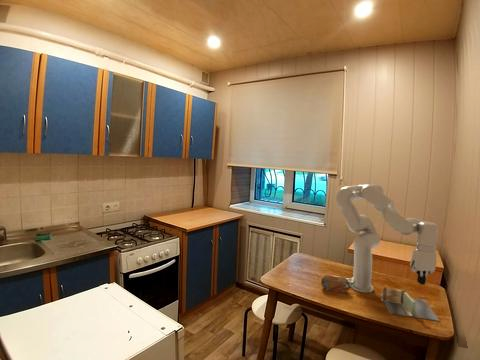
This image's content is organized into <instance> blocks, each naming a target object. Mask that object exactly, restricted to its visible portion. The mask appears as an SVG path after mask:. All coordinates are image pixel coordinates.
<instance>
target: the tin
mask: <svg viewBox="0 0 480 360" xmlns="http://www.w3.org/2000/svg"><path fill="white" fill-rule="evenodd" d="M346 278H347V277H344V276H338V275H333V274H326V275H325V274H324V276H323V277H322V279H321V283H320V284H321V287H322V288H324V289H325V290H326V289H328V290H327V291H329V290H333V291H332V292H335V291H337V292H336V293H343V294H344V293H348V291H349V290H350V288H351V287H350V283H349V281H348V280H347V279H346Z"/></svg>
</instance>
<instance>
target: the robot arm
mask: <svg viewBox="0 0 480 360" xmlns="http://www.w3.org/2000/svg"><path fill="white" fill-rule="evenodd" d="M335 199H336V201H335V202H336V204H337V206H338V208H339V210H340V212H341V214H342V216H343V219H344V220H345V222H346V226H347V228H348V229H349V230H350V232H352V233H360V234H358V235H357V236H355V238H354V240H353V241H352V242H353V253H354V254H353V272H352V274H353V276H352V277H350V278H347V277H345V278H346V279H347V280H348V281H349V284H350V288H351V289H353V290H354V291H357V292H360V293H364V294H365V293H368V294H369V293H373V291H374V290H375V289H374V286H373V285H372V275H373V273H372V272H373V271H372V270H373V253H372V250H373V249H375V248H377V247H378V246H379V245H380V243H381V237H380V236H379V235H380V234H379V233H378V231H377V228H376V227H375V225H374V223H373V221H372V219H371V218H370V217H369V216H367V215H366V214H360V213H359V211H358V208H357V207H356V206H355V205H354V203H353V201H355V200H365V201H366V202H368V203H369V204H370V205H372V207H374V208H375V209H376V210H377V211H378V212H380V215H382V218H383V219H384V220H385V222H386V223H387V224H388V225H389V226H390V227H391V228H393V229H394V230H395V231H396V232H398V233H399V234H400V235H403V236H410V235H414V234H417V237H416V238H417V239H416V247H415V248H414V249H413V251H412V254H411V257H410V261H409V262H410V263H409V266H410V267H411V269H410V271H411V272H413V273H416V275H417V280H416V281H417V283H419V284H420V285H423V286H424V285H426V280H427V279H426V278H428V277H429V275H430V274H432V273H435V271H436V266H437V252H436V249H437V248H438V245H437V240H438V234H439V233H438V232H439V226H438V224H437V223H435V222H432V221H431V222H430V221H425V220H421V219H418V218H416V217H408V218H405V217H403V216H402V215H401V214H400V213H398V212H397V210H396V209H395V206H394V201H393V200H392V199H391V198H390V197H388V196H387V195H386V194H384V189H383V187H382V186H381V185H379V184H377V183H372V184H357V185H348V186H344V187H342V188H340V189H339V190H338V191H337V194H336V198H335Z"/></svg>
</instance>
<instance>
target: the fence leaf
mask: <svg viewBox="0 0 480 360" xmlns="http://www.w3.org/2000/svg"><path fill="white" fill-rule="evenodd" d="M412 298H413V297H411V296H410V295H409V294H408V293H407V291H406V292H404V293H403V304H404V305H405V307H406V308H407V309H408V310H409V311H410V313H411V314H412V315H415V305H416V302H415V301H414V300H413V299H412Z"/></svg>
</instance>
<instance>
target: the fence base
mask: <svg viewBox="0 0 480 360" xmlns="http://www.w3.org/2000/svg"><path fill="white" fill-rule="evenodd" d="M382 288H383V289H382V291H383V292H382V293H380V296H381V298H380V300H381V302H383V303H384V305H385V307H386V309H387V312H388V314H390V315H395V316H403V317H409V318H416V319H421V320H429V321H435V322H440V319H439V317H438V316H437V314H436V313H435V312H434V311H433V310H432V308H431V306H430V305H429V304H428V303H427V302H426V300H425V299H422V298H414V297H411V298H412V299H413V300H414V301H415V302H416V305H415V315H412V314H411V313H410V311H409V310H408V309H407V308H406V307H405V305H404V304H403V293H404V292H406V293H407V290H405V289H393V288H387V287H382Z"/></svg>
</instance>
